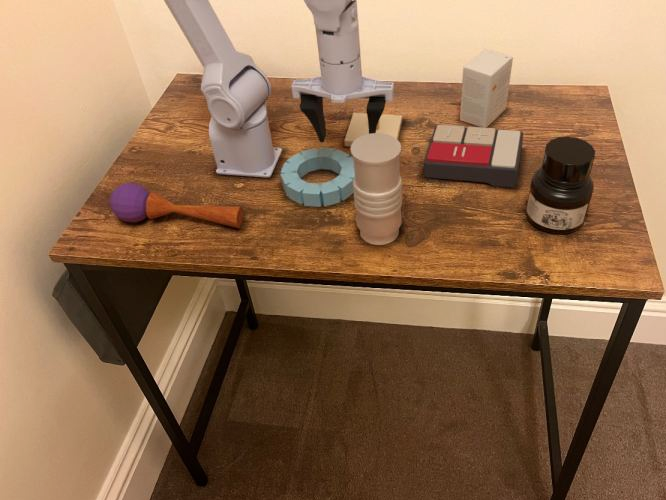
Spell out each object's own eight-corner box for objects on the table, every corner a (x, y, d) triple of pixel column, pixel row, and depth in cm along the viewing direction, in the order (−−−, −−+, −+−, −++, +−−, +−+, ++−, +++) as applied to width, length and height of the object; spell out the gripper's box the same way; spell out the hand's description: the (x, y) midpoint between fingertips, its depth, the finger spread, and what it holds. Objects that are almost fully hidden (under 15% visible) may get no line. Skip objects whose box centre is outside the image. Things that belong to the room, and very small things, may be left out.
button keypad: (435, 121, 106) (524, 127, 103) (435, 142, 109) (521, 149, 106) (422, 159, 99) (518, 166, 96) (423, 180, 102) (515, 188, 99)
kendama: (231, 221, 90) (98, 202, 91) (238, 244, 95) (112, 227, 96) (242, 189, 93) (113, 172, 94) (248, 214, 98) (126, 197, 99)
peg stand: (344, 146, 108) (342, 116, 104) (353, 118, 114) (351, 88, 110) (395, 149, 107) (395, 119, 103) (402, 121, 113) (402, 91, 109)
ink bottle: (516, 227, 93) (528, 161, 84) (529, 192, 99) (541, 126, 90) (582, 242, 91) (601, 176, 82) (591, 205, 96) (610, 139, 87)
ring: (275, 203, 98) (272, 190, 96) (293, 158, 106) (291, 145, 104) (350, 209, 97) (349, 196, 95) (363, 162, 105) (362, 150, 103)
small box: (480, 101, 117) (485, 47, 110) (506, 109, 115) (514, 55, 107) (458, 120, 113) (462, 66, 105) (485, 130, 111) (491, 75, 103)
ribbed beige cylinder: (406, 219, 95) (406, 135, 84) (396, 250, 90) (395, 165, 79) (363, 213, 96) (357, 130, 85) (351, 243, 92) (344, 159, 81)
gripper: (281, 67, 83) (295, 152, 93) (388, 70, 81) (391, 156, 91) (292, 43, 88) (305, 126, 97) (394, 45, 86) (396, 130, 96)
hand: (347, 139), depth 95 cm, fingers open, 7 cm apart
